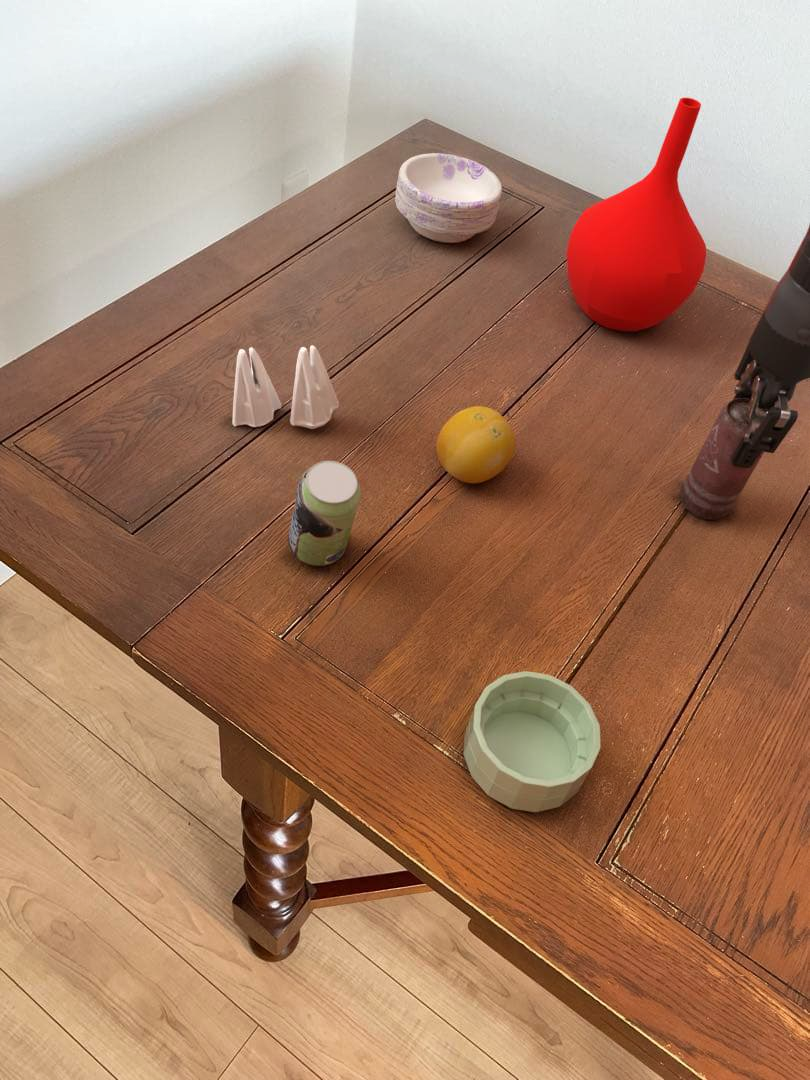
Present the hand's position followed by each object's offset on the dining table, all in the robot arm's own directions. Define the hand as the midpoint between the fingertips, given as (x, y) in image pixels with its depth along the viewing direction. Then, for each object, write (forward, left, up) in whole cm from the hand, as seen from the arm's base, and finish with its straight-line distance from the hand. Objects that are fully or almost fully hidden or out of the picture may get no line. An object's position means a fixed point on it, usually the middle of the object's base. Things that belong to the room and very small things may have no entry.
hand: (736, 443), depth 106 cm
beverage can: (+43, +17, -10) cm, 47 cm away
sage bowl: (+21, +37, -10) cm, 44 cm away
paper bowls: (+35, -50, -10) cm, 62 cm away
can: (0, 0, -10) cm, 10 cm away
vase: (+9, -36, -10) cm, 38 cm away
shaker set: (+50, -2, -10) cm, 51 cm away
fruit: (+28, +1, -10) cm, 30 cm away
